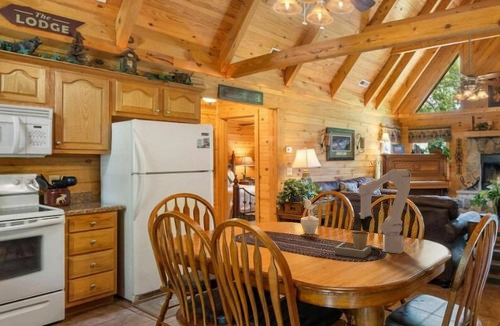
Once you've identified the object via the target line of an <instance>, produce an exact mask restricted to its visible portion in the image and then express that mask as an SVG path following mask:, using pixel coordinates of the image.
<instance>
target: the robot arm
mask: <svg viewBox="0 0 500 326" xmlns="http://www.w3.org/2000/svg"><path fill="white" fill-rule="evenodd" d="M412 176H413V175H412V174H411V172H410V170H408V169H406V168H403V169H395V168H394V169H391V170H388V171H387V173H385V174H384V175H382V176H381V177H379V178H371V179H370V181H368V182H366V183H365V184H360V185H359V186H358V190H357V191H358V193H359V195H360V212H358V215H359V216H360V217H358V220H359V221H360V225H361V227H362V231H367V230H369V229H370V226H371V222H372V220H373V216H372V197H373V194H374V192H375V191H377V190H379V189H381V187H382V185H384V184H385V183H388V182H389V181H391V183H392V184H393V185H394V187H396V188H397V191H396V194H395V197H394V200H393V204H392V205H391V209H390V212H389V216H387V217H386V218H385V219H384V221H383V223H381V227H380V229H381V232H382V233H383V236H384V237H383V239H384V241H383V243H384V246H383V247H384V248H383V249H382V250H381V252H383V253H390V254H392V253H393V254H399V255H401V254H402V253H403V252H404V251H405V250H404V244H405V243H404V239H405V238H404V235H402V234H401V235H400V233H401V232H402V230H403V220H402V219H401V218H402V214H403V211H404V210H405V206H406V202H407V200H408V197H409V193H410V191H411V179H412Z"/></svg>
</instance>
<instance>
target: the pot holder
mask: <svg viewBox="0 0 500 326" xmlns="http://www.w3.org/2000/svg"><path fill="white" fill-rule="evenodd" d="M346 244H347V243H346V241H343V242H342V243H340V244H338V245H336V246H335V247H334V255H339V256H345V257H346V256H347V257H353V258H360V259H365V258H366V257H367V256H369V255H370V254H371V253H372V245H368V246H367V245H366V248H365V249H363V250H362V249H360V250H358V249H355V248H348V247H347V245H346Z"/></svg>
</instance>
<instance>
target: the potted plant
mask: <svg viewBox="0 0 500 326" xmlns="http://www.w3.org/2000/svg"><path fill="white" fill-rule="evenodd" d="M302 199H303V201H304V203H303V206H304V207H305V208H306V210H307V216H305V217H301V218H300V225H301V226H302V229H303V232H304V234H306V235H314V234H315V233H316V231H317V228H318V226H319V225H320V219H319V218H318V217H316V216H313V215H311V211H312V210H313V209H314V208H315V207H317V206H318V204H312V201H311V200H310V199H307V198H306V197H303V198H302ZM300 204H302V201H300Z"/></svg>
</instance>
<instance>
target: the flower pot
mask: <svg viewBox="0 0 500 326" xmlns="http://www.w3.org/2000/svg"><path fill="white" fill-rule="evenodd" d="M369 234H370V232H367V231H363V230H362V231H359V230H357V231H350V235H351V237H352V244H353V249H356V250H363V249H365V248H366V247H367V242H368V237H369Z"/></svg>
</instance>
